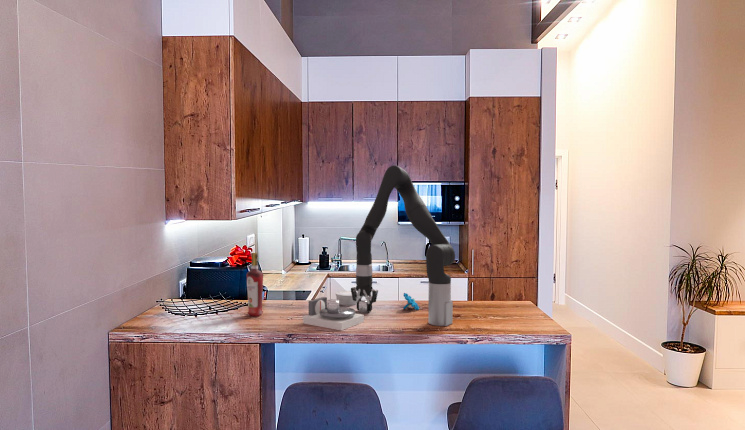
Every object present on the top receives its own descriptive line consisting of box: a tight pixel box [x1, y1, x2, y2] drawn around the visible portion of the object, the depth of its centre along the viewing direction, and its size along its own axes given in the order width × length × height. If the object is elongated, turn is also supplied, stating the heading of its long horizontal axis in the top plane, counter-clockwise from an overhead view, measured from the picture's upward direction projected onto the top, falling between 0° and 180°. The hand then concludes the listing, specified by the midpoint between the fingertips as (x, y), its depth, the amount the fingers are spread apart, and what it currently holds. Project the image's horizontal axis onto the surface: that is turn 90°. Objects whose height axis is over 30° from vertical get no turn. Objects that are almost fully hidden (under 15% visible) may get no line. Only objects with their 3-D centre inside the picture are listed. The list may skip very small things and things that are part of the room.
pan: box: [320, 306, 356, 318], centre depth 217 cm, size 15×15×1 cm
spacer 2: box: [358, 299, 370, 314], centre depth 238 cm, size 5×5×5 cm
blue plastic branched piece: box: [402, 292, 420, 311], centre depth 244 cm, size 11×6×10 cm
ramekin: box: [335, 290, 358, 306], centre depth 255 cm, size 11×11×5 cm
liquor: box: [245, 252, 264, 318], centre depth 231 cm, size 7×7×28 cm
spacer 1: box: [327, 298, 340, 314], centre depth 215 cm, size 5×5×5 cm
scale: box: [302, 296, 365, 331], centre depth 218 cm, size 20×16×9 cm
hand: (364, 310), depth 238 cm, fingers closed on spacer 2, 5 cm apart
